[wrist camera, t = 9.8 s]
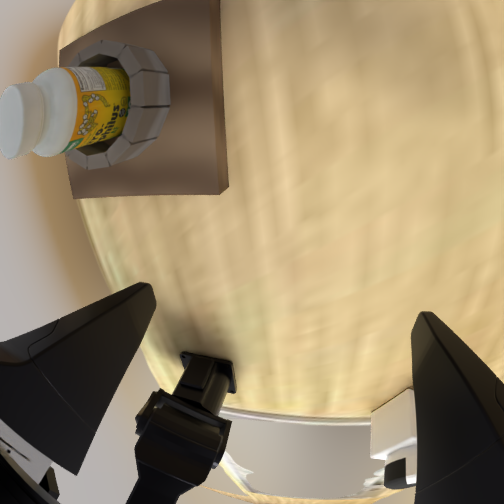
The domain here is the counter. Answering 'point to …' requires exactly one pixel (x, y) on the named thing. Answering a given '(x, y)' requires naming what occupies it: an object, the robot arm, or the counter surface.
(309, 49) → the counter surface
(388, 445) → the medicine bottle
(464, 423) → the robot arm
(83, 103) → the supplement bottle
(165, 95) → the brown base with ring
